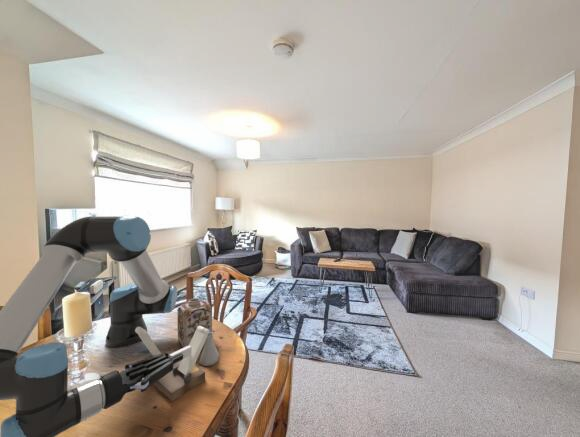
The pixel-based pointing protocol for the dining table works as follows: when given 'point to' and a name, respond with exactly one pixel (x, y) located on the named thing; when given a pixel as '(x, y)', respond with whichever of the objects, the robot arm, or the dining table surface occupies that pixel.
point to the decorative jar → (193, 319)
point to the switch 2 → (194, 350)
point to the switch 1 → (147, 341)
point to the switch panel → (178, 380)
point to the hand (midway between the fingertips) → (190, 350)
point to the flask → (209, 352)
